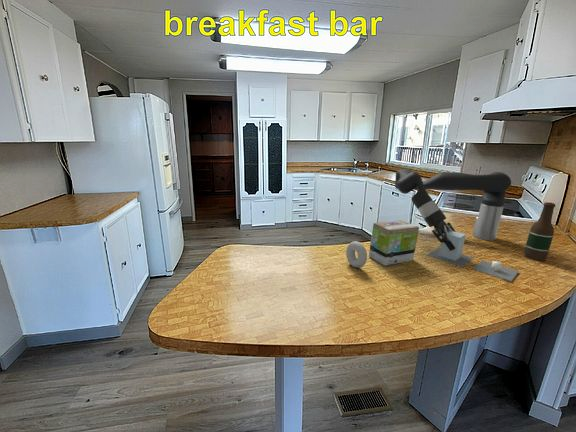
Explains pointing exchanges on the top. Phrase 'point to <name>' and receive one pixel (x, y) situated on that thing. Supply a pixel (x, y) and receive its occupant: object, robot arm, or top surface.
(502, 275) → the gray plate with knob
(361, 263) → the donut
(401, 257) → the tea box
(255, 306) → the top surface
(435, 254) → the mat
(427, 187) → the robot arm
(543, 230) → the beer bottle
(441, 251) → the light gray block
